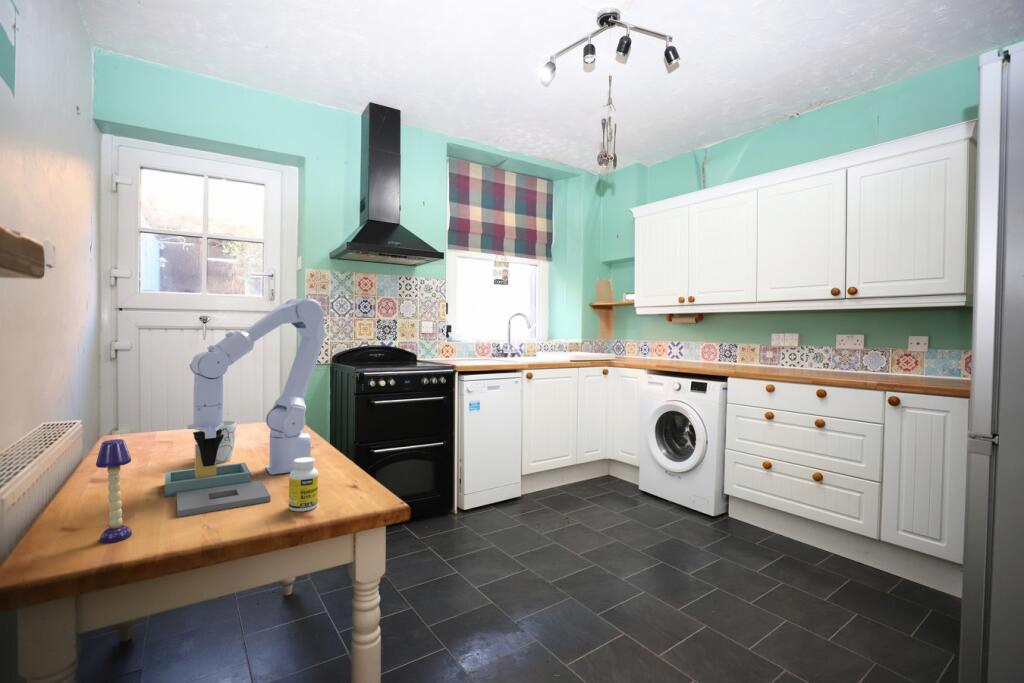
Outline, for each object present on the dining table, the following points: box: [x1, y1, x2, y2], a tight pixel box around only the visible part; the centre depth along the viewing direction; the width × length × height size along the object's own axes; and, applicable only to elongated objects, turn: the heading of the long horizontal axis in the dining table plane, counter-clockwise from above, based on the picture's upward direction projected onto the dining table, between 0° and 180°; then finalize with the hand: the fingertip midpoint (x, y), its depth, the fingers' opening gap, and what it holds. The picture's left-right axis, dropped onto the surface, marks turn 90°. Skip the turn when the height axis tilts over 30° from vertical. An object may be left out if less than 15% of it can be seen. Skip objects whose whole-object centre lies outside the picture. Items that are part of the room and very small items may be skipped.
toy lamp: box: [95, 438, 133, 544], centre depth 83 cm, size 5×5×17 cm
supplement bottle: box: [288, 457, 319, 512], centre depth 99 cm, size 5×5×10 cm
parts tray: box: [164, 462, 251, 498], centre depth 111 cm, size 16×10×3 cm, turn 125°
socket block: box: [176, 480, 271, 518], centre depth 102 cm, size 16×12×1 cm
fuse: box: [194, 443, 217, 478], centre depth 111 cm, size 4×3×7 cm
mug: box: [216, 420, 237, 464], centre depth 132 cm, size 11×8×10 cm
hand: (208, 463), depth 111 cm, fingers closed on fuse, 3 cm apart
